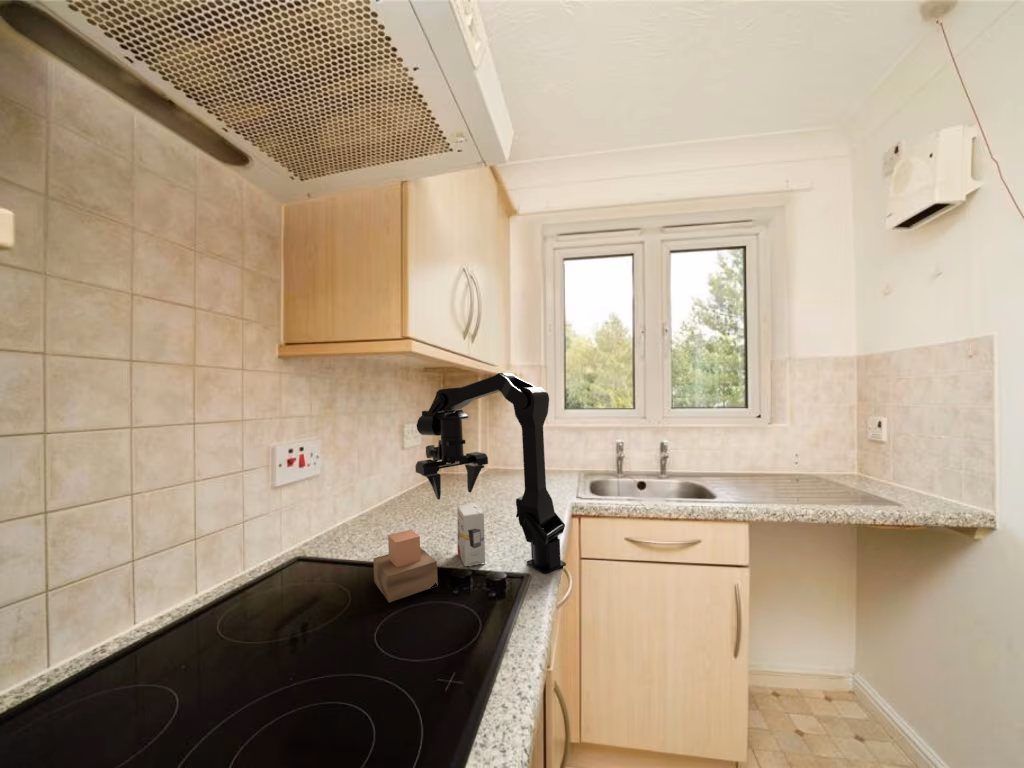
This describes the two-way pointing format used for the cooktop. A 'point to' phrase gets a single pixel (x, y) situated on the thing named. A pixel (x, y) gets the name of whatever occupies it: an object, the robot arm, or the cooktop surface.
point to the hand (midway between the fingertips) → (454, 495)
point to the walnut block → (404, 576)
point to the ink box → (471, 534)
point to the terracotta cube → (404, 548)
